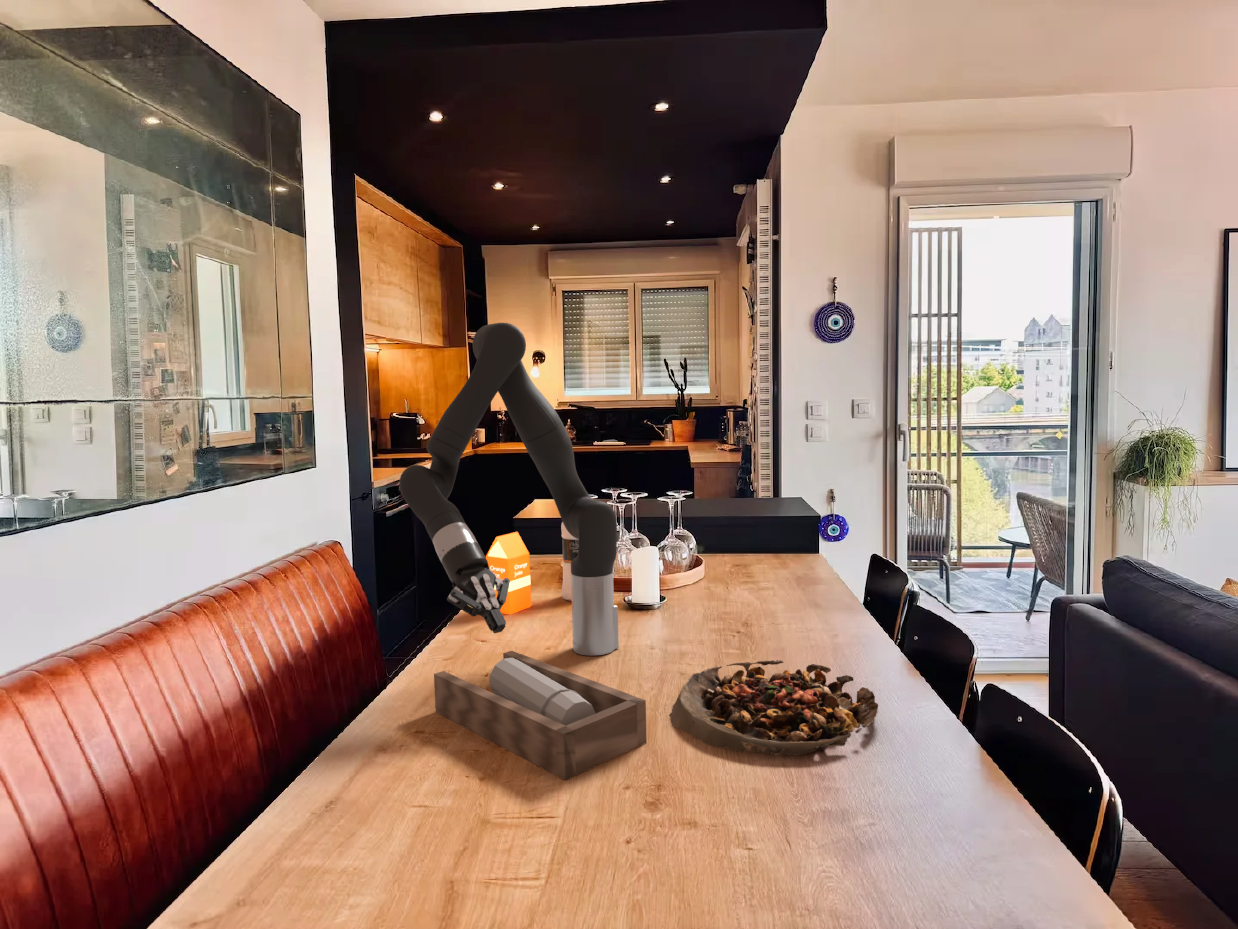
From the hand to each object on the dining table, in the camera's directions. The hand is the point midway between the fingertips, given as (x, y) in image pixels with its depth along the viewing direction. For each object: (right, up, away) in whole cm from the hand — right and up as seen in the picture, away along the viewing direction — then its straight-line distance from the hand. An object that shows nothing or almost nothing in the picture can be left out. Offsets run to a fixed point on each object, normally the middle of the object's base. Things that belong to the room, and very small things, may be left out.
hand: (500, 630), depth 137 cm
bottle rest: (+7, -15, -5) cm, 17 cm away
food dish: (+47, -15, -2) cm, 50 cm away
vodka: (+10, -8, +78) cm, 79 cm away
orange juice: (-8, -9, +69) cm, 70 cm away
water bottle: (-1, -9, +4) cm, 10 cm away
